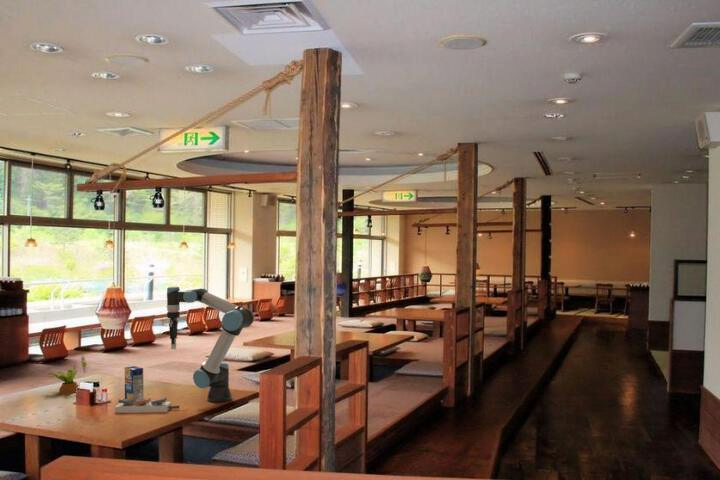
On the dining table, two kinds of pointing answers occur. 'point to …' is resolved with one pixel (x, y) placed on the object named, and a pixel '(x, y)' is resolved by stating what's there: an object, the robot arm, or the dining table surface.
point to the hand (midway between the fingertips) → (173, 349)
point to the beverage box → (133, 383)
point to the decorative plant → (69, 379)
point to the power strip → (144, 407)
